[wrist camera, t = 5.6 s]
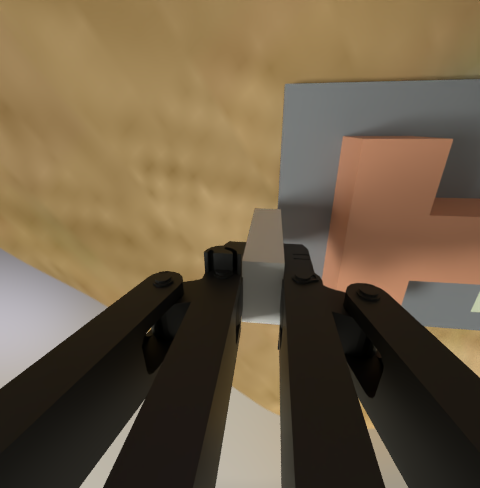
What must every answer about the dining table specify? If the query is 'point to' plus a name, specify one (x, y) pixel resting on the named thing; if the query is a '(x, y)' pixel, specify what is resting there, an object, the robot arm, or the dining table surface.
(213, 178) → the dining table surface
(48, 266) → the dining table surface
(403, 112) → the plate
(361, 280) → the t block
